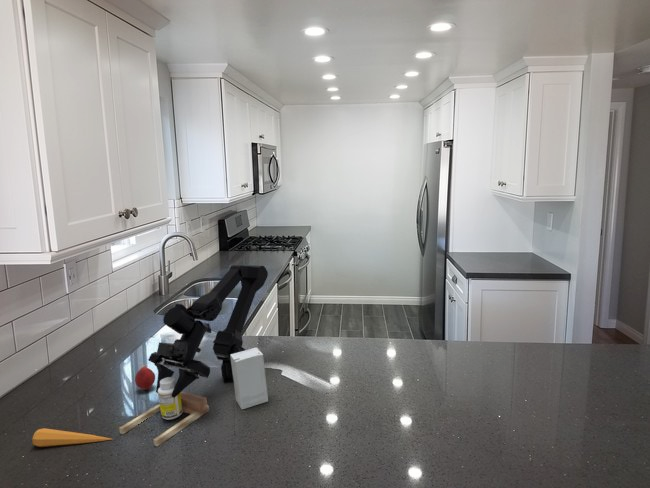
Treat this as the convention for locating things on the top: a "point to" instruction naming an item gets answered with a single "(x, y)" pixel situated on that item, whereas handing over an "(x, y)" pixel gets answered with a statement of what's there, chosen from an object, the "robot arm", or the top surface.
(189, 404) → the rail track
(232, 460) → the top surface
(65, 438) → the carrot
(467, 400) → the top surface
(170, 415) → the supplement bottle
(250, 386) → the skincare box
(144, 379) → the red round piece
